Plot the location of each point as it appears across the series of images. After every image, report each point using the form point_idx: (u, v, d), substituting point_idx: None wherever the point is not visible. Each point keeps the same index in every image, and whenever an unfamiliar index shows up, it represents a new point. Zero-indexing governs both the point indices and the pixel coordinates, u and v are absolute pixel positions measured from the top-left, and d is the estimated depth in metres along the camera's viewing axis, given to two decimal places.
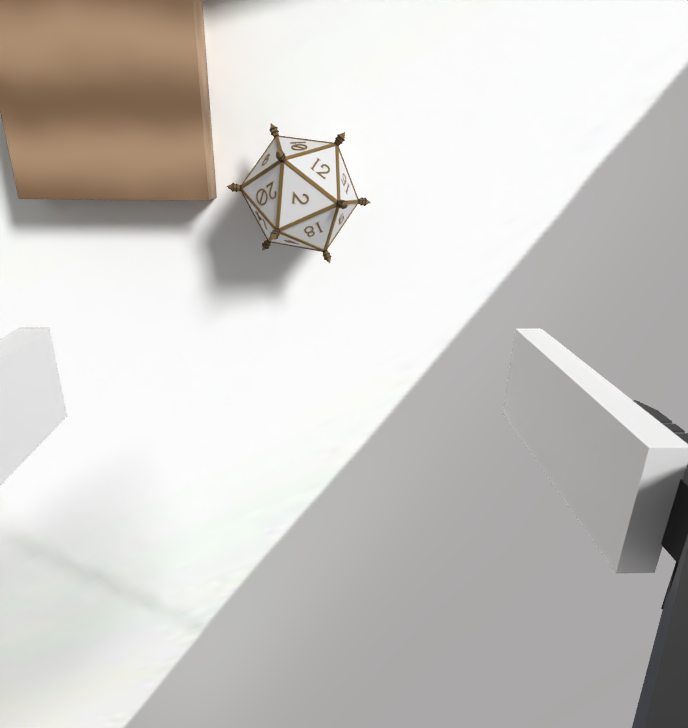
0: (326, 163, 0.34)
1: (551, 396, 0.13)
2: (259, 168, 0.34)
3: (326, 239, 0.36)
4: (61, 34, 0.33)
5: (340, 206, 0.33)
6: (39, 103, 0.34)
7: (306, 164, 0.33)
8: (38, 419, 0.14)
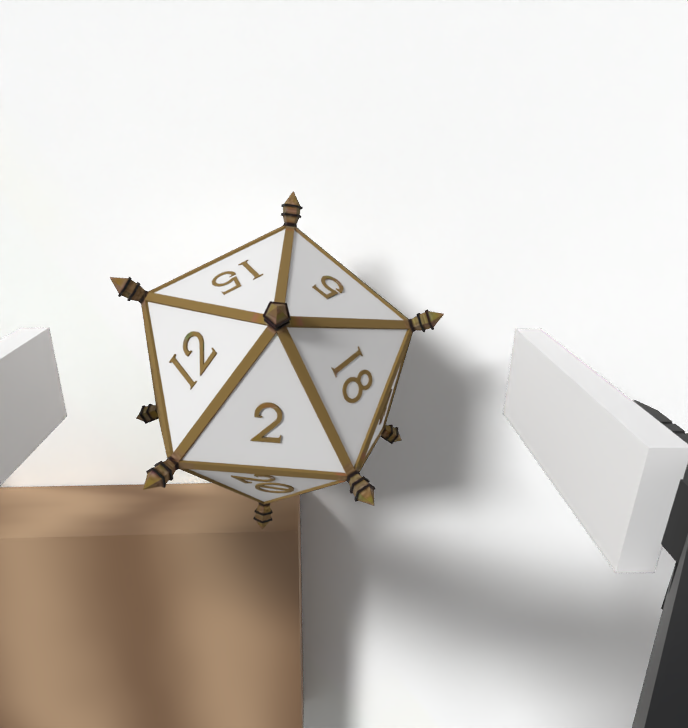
0: (182, 337, 0.13)
1: (550, 396, 0.13)
2: None
3: (381, 330, 0.13)
4: (52, 705, 0.21)
5: (282, 324, 0.11)
6: None
7: (183, 398, 0.12)
8: (38, 419, 0.14)
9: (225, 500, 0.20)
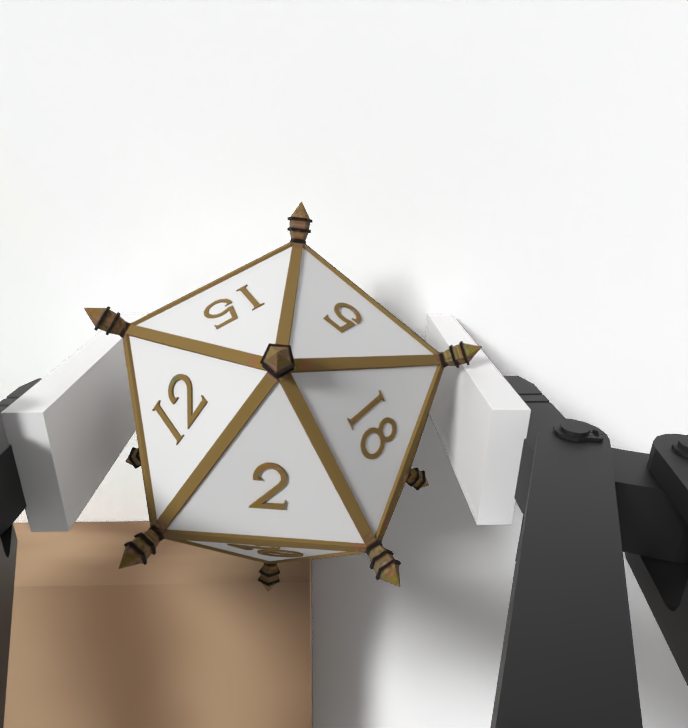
0: (167, 380, 0.10)
1: (445, 373, 0.14)
2: None
3: (407, 368, 0.11)
4: None
5: (285, 371, 0.09)
6: None
7: (168, 454, 0.10)
8: None
9: None
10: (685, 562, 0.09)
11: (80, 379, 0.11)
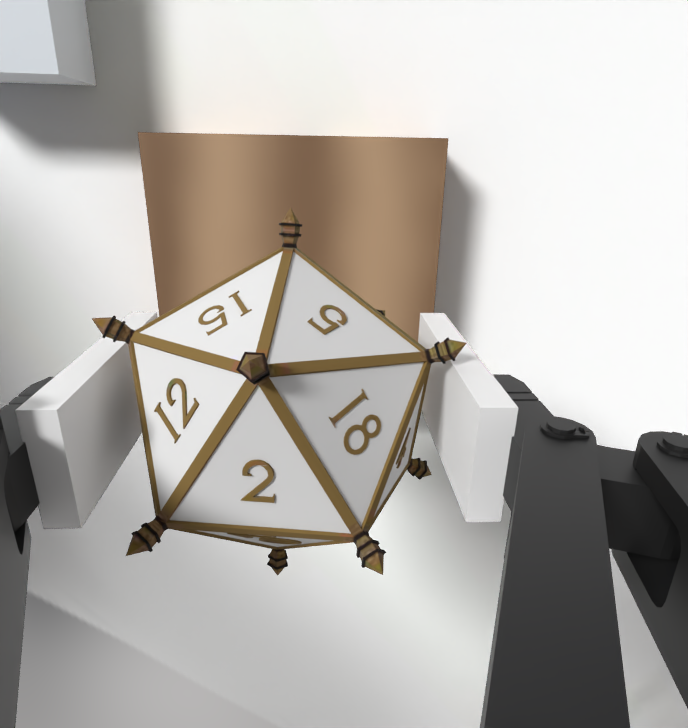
0: (166, 384, 0.11)
1: (436, 372, 0.14)
2: None
3: (391, 366, 0.11)
4: None
5: (260, 377, 0.09)
6: None
7: (168, 452, 0.11)
8: None
9: None
10: (671, 558, 0.09)
11: (92, 377, 0.11)
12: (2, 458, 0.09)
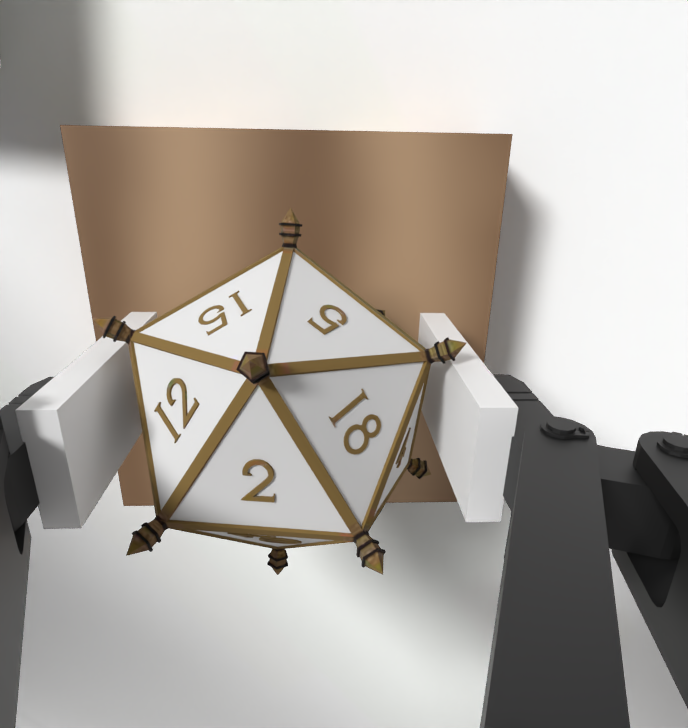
0: (166, 384, 0.11)
1: (436, 372, 0.14)
2: None
3: (390, 366, 0.11)
4: None
5: (260, 377, 0.09)
6: None
7: (168, 451, 0.11)
8: None
9: None
10: (672, 558, 0.09)
11: (92, 377, 0.11)
12: (2, 458, 0.09)
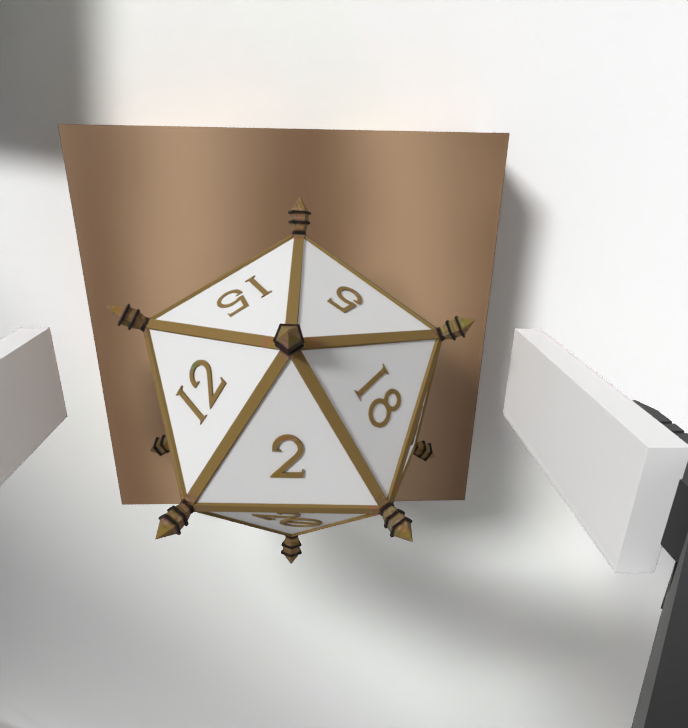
0: (188, 367, 0.11)
1: (550, 396, 0.13)
2: None
3: (407, 343, 0.12)
4: None
5: (296, 348, 0.10)
6: None
7: (193, 434, 0.11)
8: (38, 419, 0.14)
9: None
10: None
11: None
12: None
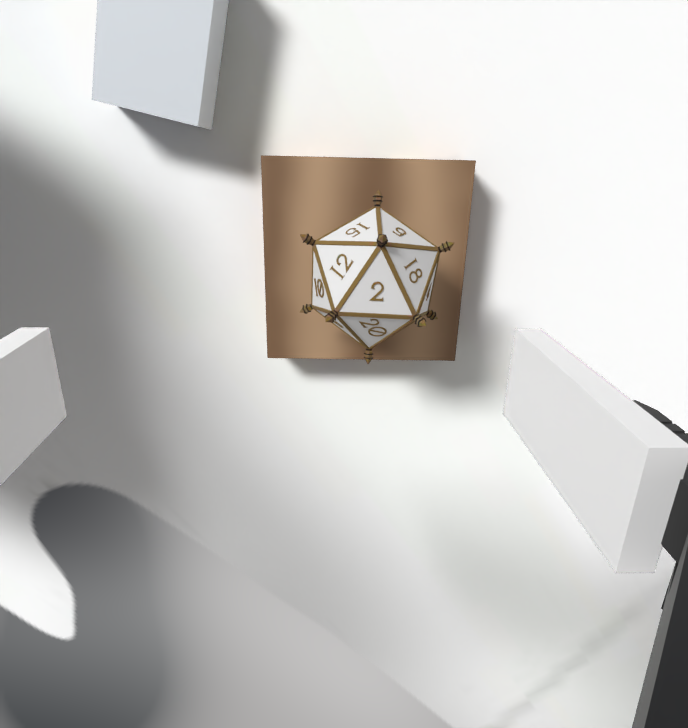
0: (335, 257, 0.28)
1: (550, 396, 0.13)
2: (346, 330, 0.30)
3: (425, 250, 0.28)
4: None
5: (384, 243, 0.26)
6: None
7: (338, 284, 0.28)
8: (38, 419, 0.14)
9: None
10: None
11: None
12: None
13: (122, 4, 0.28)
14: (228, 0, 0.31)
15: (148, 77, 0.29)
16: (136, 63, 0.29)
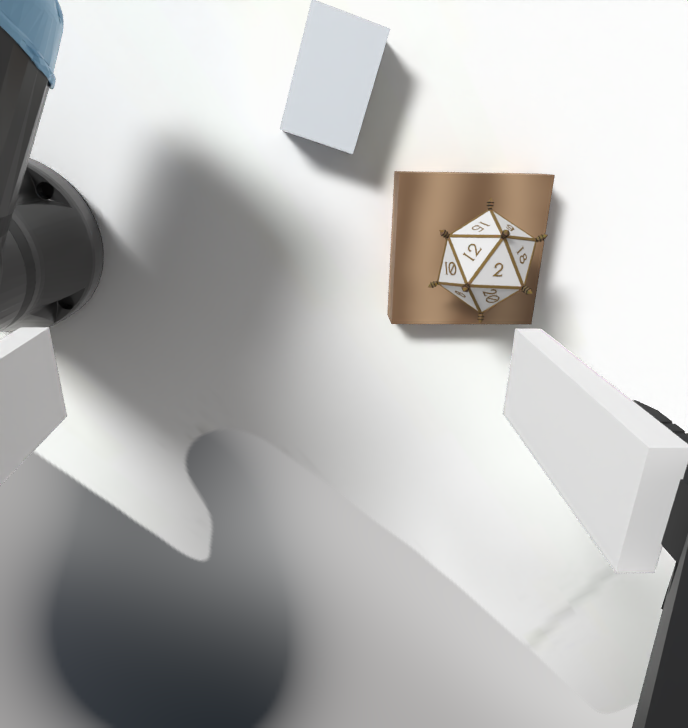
0: (466, 246, 0.40)
1: (550, 396, 0.13)
2: (467, 299, 0.42)
3: (528, 241, 0.40)
4: (429, 272, 0.46)
5: (507, 235, 0.38)
6: None
7: (469, 264, 0.40)
8: (38, 419, 0.14)
9: None
10: None
11: None
12: None
13: (313, 64, 0.39)
14: None
15: (323, 116, 0.41)
16: (316, 106, 0.40)
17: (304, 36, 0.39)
